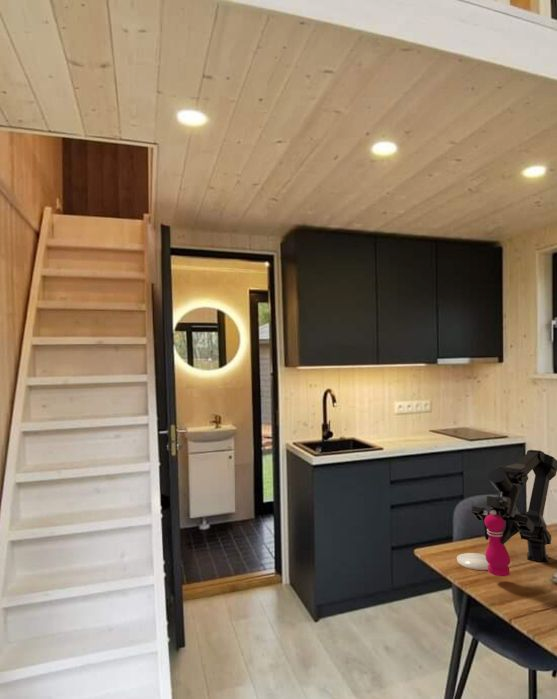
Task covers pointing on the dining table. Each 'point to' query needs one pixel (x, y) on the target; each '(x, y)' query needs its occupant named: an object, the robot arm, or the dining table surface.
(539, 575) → the dining table surface
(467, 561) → the ceramic plate
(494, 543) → the pepper mill
